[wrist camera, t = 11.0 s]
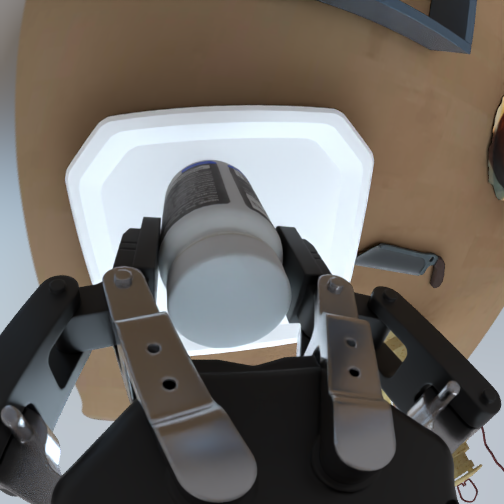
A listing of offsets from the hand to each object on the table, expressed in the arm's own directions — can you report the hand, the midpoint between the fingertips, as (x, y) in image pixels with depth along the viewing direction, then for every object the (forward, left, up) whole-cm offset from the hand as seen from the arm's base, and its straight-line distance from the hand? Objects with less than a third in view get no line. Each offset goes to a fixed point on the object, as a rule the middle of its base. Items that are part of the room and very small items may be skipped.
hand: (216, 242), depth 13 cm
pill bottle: (0, 0, -5) cm, 5 cm away
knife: (+21, +2, -9) cm, 23 cm away
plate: (+4, -4, -9) cm, 11 cm away
